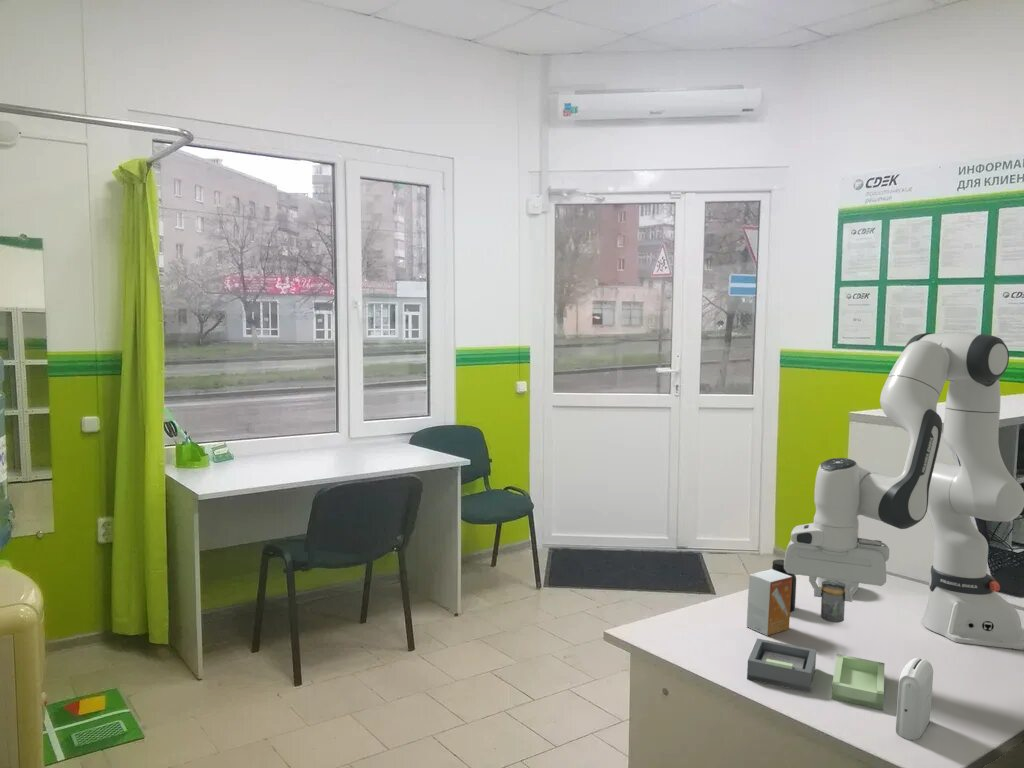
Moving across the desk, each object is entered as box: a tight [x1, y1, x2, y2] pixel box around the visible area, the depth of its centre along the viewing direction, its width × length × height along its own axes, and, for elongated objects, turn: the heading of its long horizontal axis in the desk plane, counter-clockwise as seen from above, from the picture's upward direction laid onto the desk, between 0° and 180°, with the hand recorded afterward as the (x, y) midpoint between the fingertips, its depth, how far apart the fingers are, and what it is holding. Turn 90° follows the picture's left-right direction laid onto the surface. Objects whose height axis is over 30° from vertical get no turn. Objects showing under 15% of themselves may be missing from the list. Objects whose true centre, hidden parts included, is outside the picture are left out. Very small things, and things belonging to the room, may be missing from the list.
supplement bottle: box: [771, 559, 797, 613], centre depth 197 cm, size 7×7×12 cm
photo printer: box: [895, 657, 934, 741], centre depth 141 cm, size 10×4×12 cm, turn 140°
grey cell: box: [820, 580, 846, 624], centre depth 167 cm, size 5×5×8 cm
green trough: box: [831, 653, 886, 711], centre depth 156 cm, size 9×15×3 cm, turn 154°
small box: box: [746, 568, 792, 637], centre depth 184 cm, size 8×6×13 cm
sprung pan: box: [762, 651, 805, 669], centre depth 161 cm, size 8×8×1 cm
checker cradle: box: [746, 638, 817, 694], centre depth 161 cm, size 12×12×5 cm
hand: (833, 598), depth 167 cm, fingers closed on grey cell, 5 cm apart
